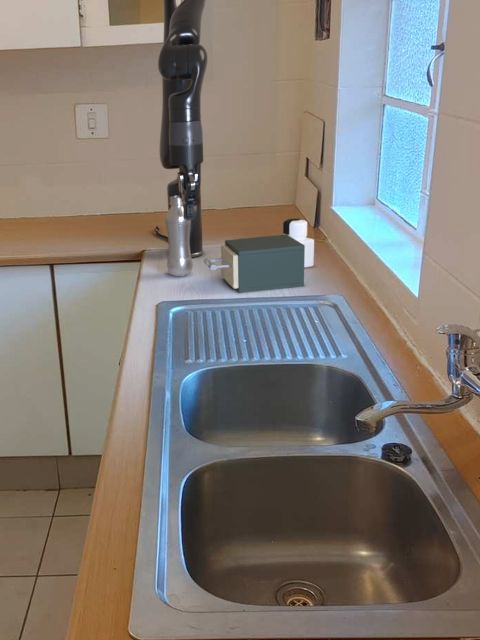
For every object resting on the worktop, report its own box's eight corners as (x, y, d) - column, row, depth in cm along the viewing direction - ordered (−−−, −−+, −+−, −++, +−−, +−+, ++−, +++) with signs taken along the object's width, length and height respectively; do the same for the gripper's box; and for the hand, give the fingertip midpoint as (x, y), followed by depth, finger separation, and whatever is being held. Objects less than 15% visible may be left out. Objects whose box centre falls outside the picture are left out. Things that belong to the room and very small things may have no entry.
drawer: (213, 290, 176) (212, 257, 173) (202, 278, 186) (201, 246, 183) (293, 282, 178) (293, 249, 175) (278, 270, 189) (278, 239, 186)
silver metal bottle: (177, 270, 198) (174, 193, 190) (198, 273, 194) (195, 195, 186) (162, 276, 194) (158, 198, 186) (183, 279, 190) (179, 199, 182)
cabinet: (239, 292, 176) (238, 251, 173) (225, 278, 188) (224, 240, 184) (303, 286, 178) (304, 245, 175) (286, 272, 190) (286, 234, 186)
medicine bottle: (275, 265, 197) (275, 219, 193) (298, 260, 200) (299, 215, 195) (290, 270, 191) (291, 223, 187) (314, 266, 194) (315, 220, 189)
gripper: (209, 143, 162) (211, 223, 169) (196, 138, 174) (198, 213, 181) (175, 146, 161) (178, 226, 168) (164, 140, 173) (168, 215, 180)
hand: (188, 219), depth 174 cm, fingers closed
